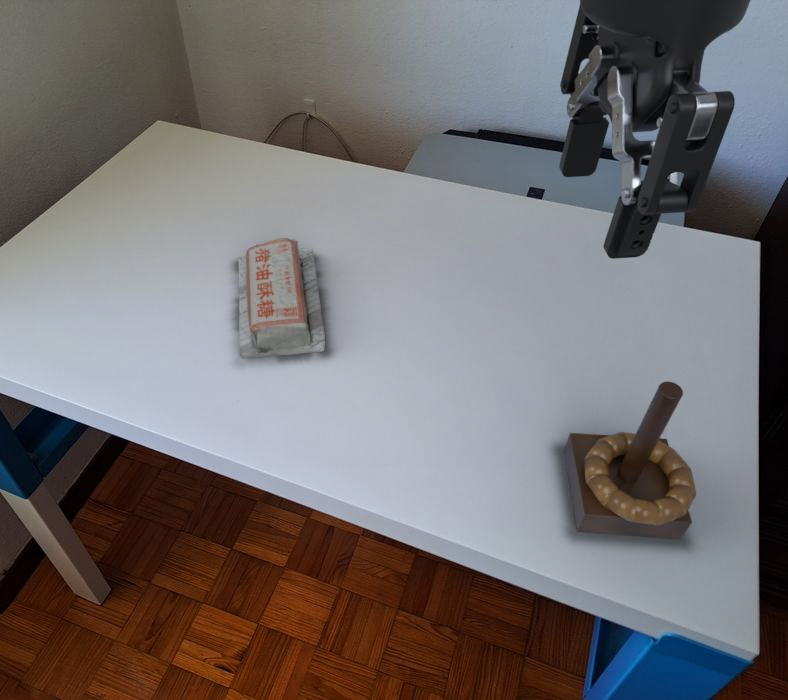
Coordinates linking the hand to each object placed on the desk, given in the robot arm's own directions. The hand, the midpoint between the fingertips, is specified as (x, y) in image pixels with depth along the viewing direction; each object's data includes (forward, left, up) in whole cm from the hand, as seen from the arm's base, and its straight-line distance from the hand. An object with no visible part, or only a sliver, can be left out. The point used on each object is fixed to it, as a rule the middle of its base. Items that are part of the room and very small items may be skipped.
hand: (597, 210), depth 42 cm
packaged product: (+26, -25, -32) cm, 48 cm away
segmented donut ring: (-11, 0, -28) cm, 30 cm away
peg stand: (-10, -1, -32) cm, 34 cm away
